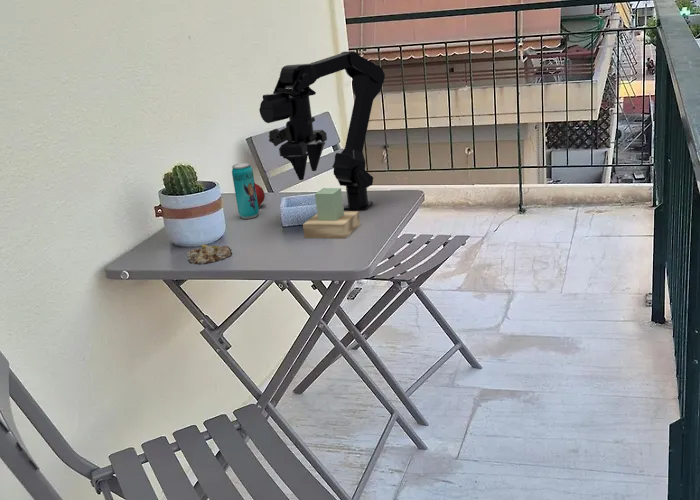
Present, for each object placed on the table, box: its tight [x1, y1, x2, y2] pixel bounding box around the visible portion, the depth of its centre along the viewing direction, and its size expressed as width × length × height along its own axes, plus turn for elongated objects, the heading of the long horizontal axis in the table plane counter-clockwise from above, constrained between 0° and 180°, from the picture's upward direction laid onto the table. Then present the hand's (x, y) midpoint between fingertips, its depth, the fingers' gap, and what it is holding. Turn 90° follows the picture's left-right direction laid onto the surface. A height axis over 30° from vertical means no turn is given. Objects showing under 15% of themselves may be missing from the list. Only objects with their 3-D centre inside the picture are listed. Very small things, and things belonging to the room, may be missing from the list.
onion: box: [255, 183, 266, 208], centre depth 221 cm, size 6×6×8 cm
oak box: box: [302, 210, 361, 239], centre depth 192 cm, size 11×11×4 cm
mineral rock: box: [187, 243, 233, 265], centre depth 182 cm, size 11×4×8 cm
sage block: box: [314, 187, 345, 221], centre depth 190 cm, size 5×5×7 cm
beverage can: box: [231, 162, 260, 220], centre depth 211 cm, size 6×6×15 cm
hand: (307, 175), depth 196 cm, fingers open, 9 cm apart
